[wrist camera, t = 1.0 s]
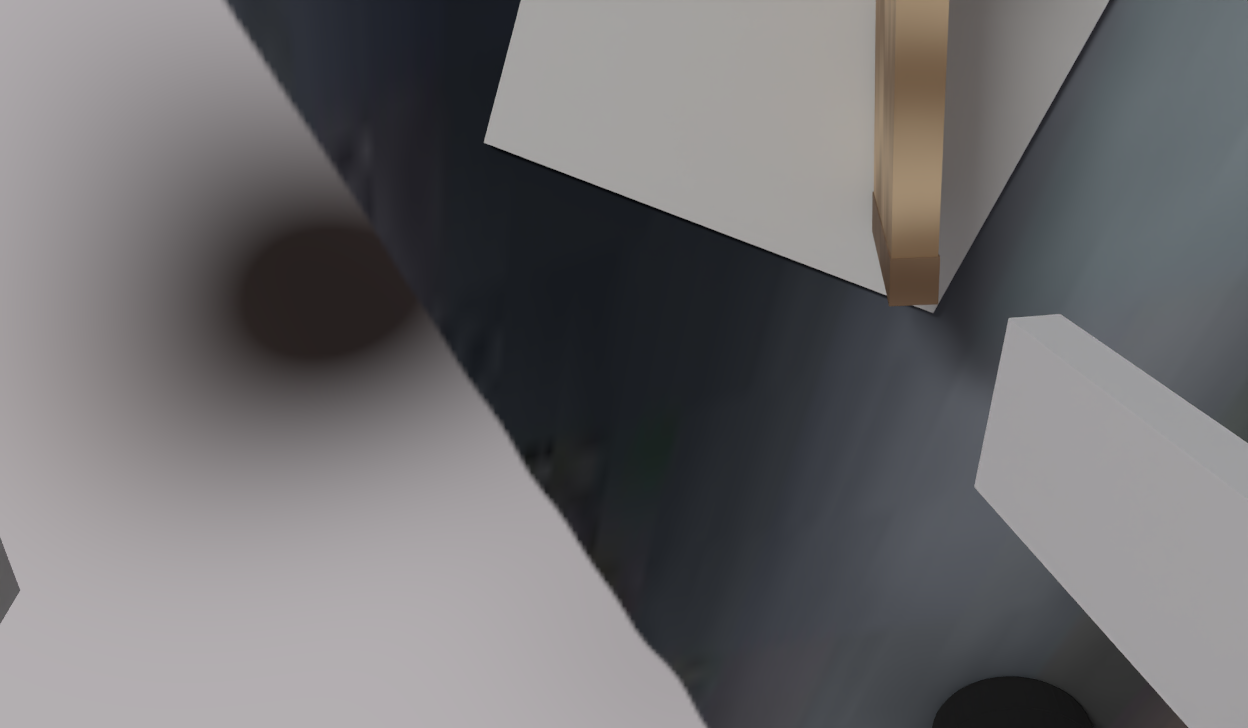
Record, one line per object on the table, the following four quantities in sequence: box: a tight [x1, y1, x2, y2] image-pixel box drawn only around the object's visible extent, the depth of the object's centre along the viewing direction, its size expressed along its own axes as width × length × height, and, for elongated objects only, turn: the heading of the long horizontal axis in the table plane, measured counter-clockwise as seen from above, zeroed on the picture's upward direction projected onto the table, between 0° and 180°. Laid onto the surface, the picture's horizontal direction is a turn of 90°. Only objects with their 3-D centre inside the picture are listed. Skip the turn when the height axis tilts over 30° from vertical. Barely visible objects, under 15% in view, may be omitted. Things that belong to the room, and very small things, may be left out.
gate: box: [872, 0, 949, 306], centre depth 33 cm, size 19×2×9 cm, turn 6°
